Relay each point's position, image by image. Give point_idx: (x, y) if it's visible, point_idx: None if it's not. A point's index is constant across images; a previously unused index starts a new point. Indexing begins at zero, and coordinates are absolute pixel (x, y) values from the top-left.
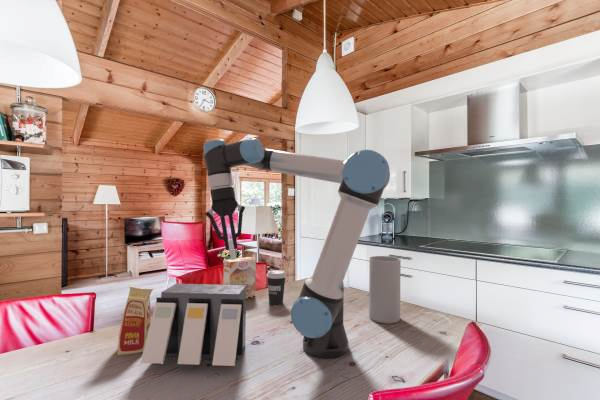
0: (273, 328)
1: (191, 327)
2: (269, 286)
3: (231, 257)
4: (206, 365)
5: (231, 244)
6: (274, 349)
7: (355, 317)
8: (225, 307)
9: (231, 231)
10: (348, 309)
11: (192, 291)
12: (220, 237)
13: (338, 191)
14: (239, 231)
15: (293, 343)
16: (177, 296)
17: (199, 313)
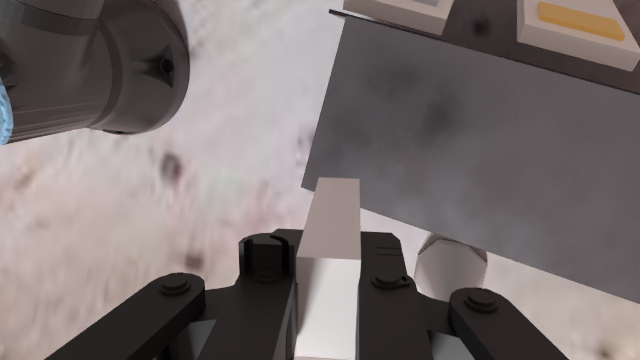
0: (259, 231)
1: (581, 6)
2: None
3: (352, 187)
4: (489, 24)
5: (326, 231)
6: (271, 84)
7: (15, 236)
8: (424, 6)
9: (272, 330)
10: (23, 299)
11: (626, 128)
12: (471, 297)
13: None
14: (146, 307)
15: (212, 110)
16: None
17: (557, 11)
